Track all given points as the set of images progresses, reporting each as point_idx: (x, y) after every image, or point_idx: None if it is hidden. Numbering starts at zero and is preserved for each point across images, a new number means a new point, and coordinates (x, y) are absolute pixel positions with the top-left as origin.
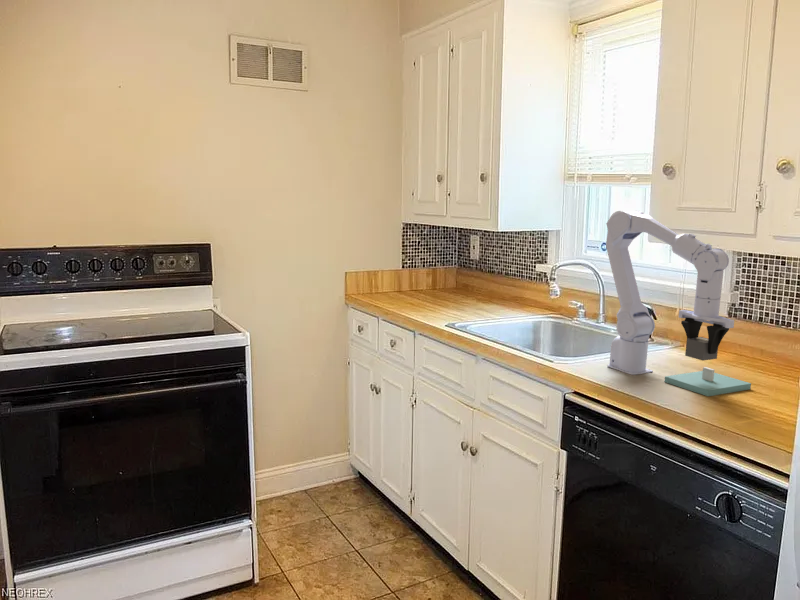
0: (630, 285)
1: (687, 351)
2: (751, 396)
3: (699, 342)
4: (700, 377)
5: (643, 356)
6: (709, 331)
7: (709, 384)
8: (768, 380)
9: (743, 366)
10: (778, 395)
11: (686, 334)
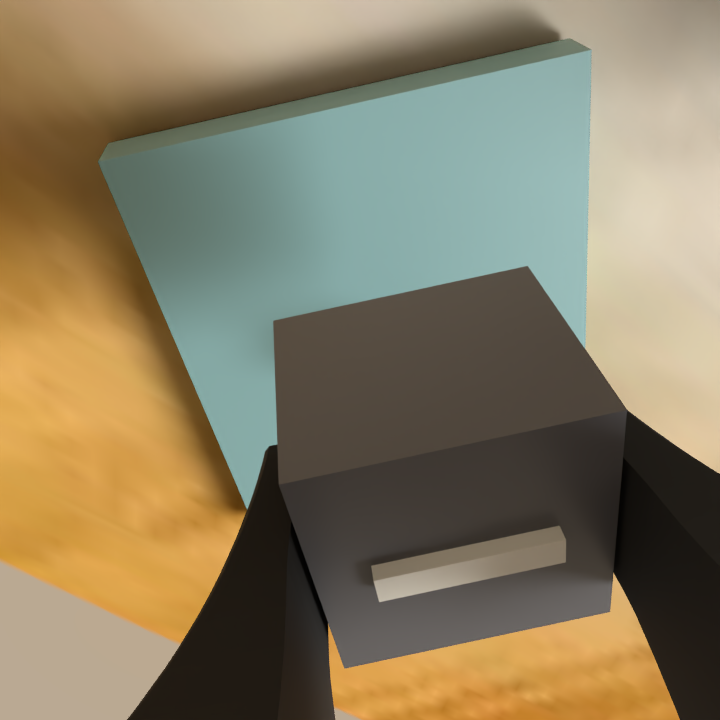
0: None
1: (519, 303)
2: (133, 449)
3: (374, 453)
4: None
5: None
6: (230, 711)
7: (275, 289)
8: (399, 658)
9: (618, 677)
10: (150, 577)
11: (717, 479)
